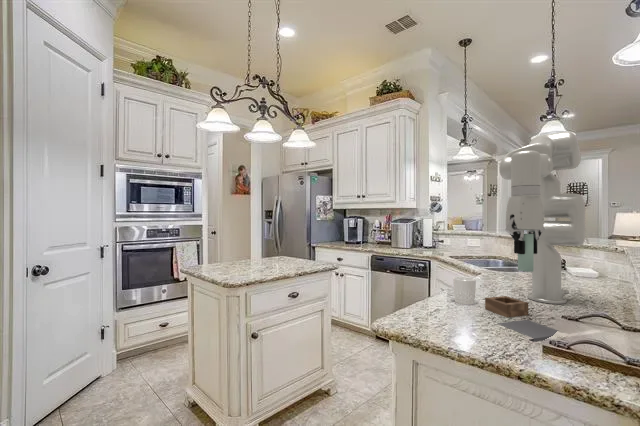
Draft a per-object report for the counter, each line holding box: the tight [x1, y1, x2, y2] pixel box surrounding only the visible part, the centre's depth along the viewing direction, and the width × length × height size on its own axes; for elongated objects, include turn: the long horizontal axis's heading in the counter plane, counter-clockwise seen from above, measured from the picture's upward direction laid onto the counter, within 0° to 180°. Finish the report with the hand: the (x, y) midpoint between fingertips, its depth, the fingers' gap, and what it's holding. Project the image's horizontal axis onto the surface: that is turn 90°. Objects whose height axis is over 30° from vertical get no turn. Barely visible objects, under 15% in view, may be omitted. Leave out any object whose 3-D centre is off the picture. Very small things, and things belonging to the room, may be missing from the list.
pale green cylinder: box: [517, 233, 534, 273], centre depth 94 cm, size 4×4×11 cm
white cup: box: [452, 276, 477, 306], centre depth 119 cm, size 8×8×10 cm
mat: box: [496, 319, 559, 343], centre depth 92 cm, size 12×12×1 cm
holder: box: [484, 295, 529, 318], centre depth 107 cm, size 9×9×5 cm
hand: (525, 252), depth 94 cm, fingers closed on pale green cylinder, 4 cm apart
